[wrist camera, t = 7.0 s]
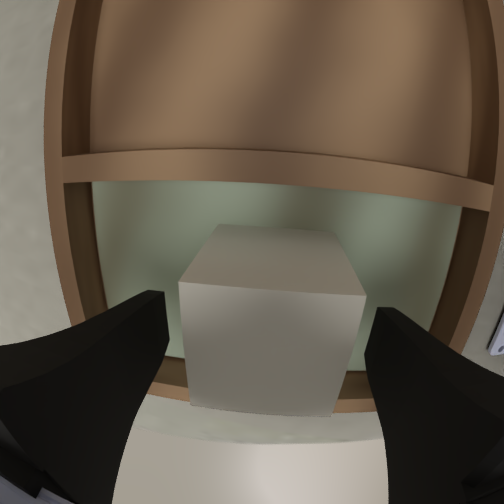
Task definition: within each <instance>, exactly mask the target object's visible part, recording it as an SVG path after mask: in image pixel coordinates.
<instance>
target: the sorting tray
mask: <svg viewBox="0 0 504 504" xmlns="http://www.w3.org/2000/svg"><path fill="white" fill-rule="evenodd" d="M44 163H45V180H46V193H47V203H48V212H49V220H50V228H51V235H52V241H53V247H54V253H55V258H56V264H57V269H58V273H59V278H60V283H61V287H62V291H63V295H64V300H65V303H66V307H67V311H68V315H69V318H70V322H71V325H72V326H75V325H77V324H79V323H82V322H84V321H86V320H88V319H90V318H92V317H94V316H96V315H98V314H100V313H103V312H105V311H106V310H108V309H110V308H112V307H114V306H116V305H118V304H120V303H122V302H124V301H125V300H127V299H129V298H131V297H133V296H135V295H137V294H139V293H141V292H144V291H146V290H156V291H165V301H166V311H167V320H168V328H169V336H170V341H169V344H168V347H167V350H166V353H165V356H164V359H163V362H162V364H161V366H160V368H159V370H158V372H157V374H156V376H155V378H154V380H153V382H152V384H151V386H150V388H149V390H148V392H147V394H151V395H156V396H161V397H166V398H171V399H176V400H182V401H188V402H190V397H189V389H188V381H187V373H186V364H185V355H184V346H183V335H182V324H181V312H180V299H179V285H178V281H179V280H180V278H181V277H182V275H183V274H184V273H185V271H186V270H187V268H188V267H189V265H190V264H191V262H192V261H193V259H194V258H195V257H196V255H197V254H198V252H199V251H200V249H201V248H202V247H203V245H204V244H205V242H206V241H207V239H208V238H209V237H210V235H211V234H212V232H213V231H214V230H215V228H216V227H217V225H218V224H229V225H244V226H259V227H273V228H286V229H299V230H312V231H324V232H334V233H335V235H336V237H337V239H338V241H339V243H340V245H341V246H342V248H343V250H344V252H345V254H346V256H347V258H348V260H349V262H350V264H351V265H352V267H353V269H354V271H355V273H356V275H357V277H358V279H359V281H360V283H361V285H362V287H363V289H364V291H365V293H366V295H367V297H366V302H365V306H364V310H363V314H362V318H361V322H360V326H359V329H358V333H357V337H356V340H355V344H354V347H353V351H352V354H351V358H350V361H349V364H348V368H347V371H346V374H345V377H344V380H343V384H342V387H341V390H340V393H339V396H338V398H337V401H336V404H335V407H334V410H333V413H352V412H374V411H377V409H376V406H375V402H374V399H373V395H372V392H371V389H370V385H369V382H368V378H367V372H366V366H365V359H364V352H365V349H366V345H367V342H368V339H369V335H370V332H371V328H372V324H373V321H374V317H375V313H376V310H377V307H394V308H396V309H397V310H399V311H400V312H402V313H403V314H405V315H406V316H408V317H409V318H410V319H412V320H413V321H414V322H416V323H417V324H418V325H420V326H421V327H422V328H423V329H425V330H426V331H427V332H429V333H430V334H431V335H433V336H434V337H436V338H437V339H438V340H440V341H441V342H442V343H444V344H445V345H447V346H448V347H450V348H451V349H453V350H454V351H456V352H457V353H459V354H460V355H461V353H462V351H463V348H464V346H465V344H466V342H467V339H468V337H469V335H470V332H471V330H472V328H473V325H474V323H475V320H476V318H477V315H478V312H479V310H480V307H481V304H482V301H483V299H484V296H485V293H486V290H487V287H488V284H489V281H490V277H491V274H492V271H493V267H494V264H495V260H496V257H497V253H498V249H499V245H500V241H501V237H502V232H503V228H504V5H503V0H59V5H58V9H57V13H56V18H55V23H54V28H53V34H52V40H51V46H50V53H49V60H48V69H47V79H46V91H45V108H44Z"/></svg>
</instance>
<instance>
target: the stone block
mask: <svg viewBox="0 0 504 504" xmlns="http://www.w3.org/2000/svg"><path fill="white" fill-rule="evenodd" d="M178 285H179V299H180V312H181V324H182V335H183V346H184V355H185V364H186V373H187V381H188V389H189V397H190V404H191V405H192V406H198V407H205V408H211V409H219V410H227V411H235V412H244V413H255V414H267V415H283V416H310V417H331V415H332V413H333V410H334V407H335V404H336V401H337V398H338V396H339V393H340V390H341V387H342V384H343V380H344V377H345V374H346V371H347V368H348V364H349V361H350V358H351V354H352V351H353V347H354V344H355V340H356V337H357V333H358V329H359V326H360V322H361V318H362V314H363V310H364V306H365V302H366V297H367V295H366V293H365V291H364V289H363V287H362V285H361V283H360V281H359V279H358V277H357V275H356V273H355V271H354V269H353V267H352V265H351V264H350V262H349V260H348V258H347V256H346V254H345V252H344V250H343V248H342V246H341V245H340V243H339V241H338V239H337V237H336V235H335V233H334V232H324V231H312V230H299V229H286V228H273V227H259V226H244V225H229V224H218V225H217V227H216V228H215V230H214V231H213V232H212V234H211V235H210V237H209V238H208V239H207V241H206V242H205V244H204V245H203V247H202V248H201V249H200V251H199V252H198V254H197V255H196V257H195V258H194V259H193V261H192V262H191V264H190V265H189V267H188V268H187V270H186V271H185V273H184V274H183V275H182V277H181V278H180V280H179V281H178Z"/></svg>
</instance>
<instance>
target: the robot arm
mask: <svg viewBox="0 0 504 504" xmlns="http://www.w3.org/2000/svg"><path fill="white" fill-rule="evenodd" d="M169 341H170V336H169V328H168V320H167V311H166V301H165V291H156V290H146V291H144V292H141V293H139V294H137V295H135V296H133V297H131V298H129V299H127V300H125V301H124V302H122V303H120V304H118V305H116V306H114V307H112V308H110V309H108V310H106V311H105V312H103V313H100V314H98V315H96V316H94V317H92V318H90V319H88V320H86V321H84V322H82V323H79V324H77V325H75V326H72V327H70V328H67V329H64V330H62V331H59V332H56V333H53V334H50V335H47V336H43V337H39V338H36V339H32V340H28V341H24V342H20V343H14V344H9V345H2V346H0V504H112V499H113V493H114V488H115V483H116V479H117V475H118V471H119V467H120V462H121V459H122V455H123V452H124V449H125V445H126V442H127V439H128V436H129V433H130V430H131V427H132V424H133V421H134V419H135V416H136V414H137V412H138V410H139V408H140V406H141V404H142V402H143V400H144V398H145V396H146V394H147V392H148V390H149V388H150V386H151V384H152V382H153V380H154V378H155V376H156V374H157V372H158V370H159V368H160V366H161V364H162V362H163V359H164V356H165V353H166V350H167V347H168V344H169ZM488 352H489V353H490V354H491V355H500V354H504V313H503V316H502V318H501V321H500V323H499V326H498V328H497V330H496V332H495V335H494V337H493V339H492V341H491V344H490V346H489V348H488ZM364 359H365V366H366V372H367V378H368V382H369V385H370V389H371V392H372V395H373V399H374V402H375V406H376V409H377V413H378V416H379V420H380V423H381V427H382V431H383V436H384V440H385V449H386V458H387V468H388V490H389V491H388V492H389V504H504V377H503V376H500V375H498V374H496V373H494V372H491V371H489V370H487V369H485V368H483V367H481V366H479V365H478V364H476V363H474V362H472V361H471V360H469V359H467V358H465V357H464V356H462V355H460V354H459V353H457V352H456V351H454V350H453V349H451V348H450V347H448V346H447V345H445V344H444V343H442V342H441V341H440V340H438V339H437V338H436V337H434V336H433V335H431V334H430V333H429V332H427V331H426V330H425V329H423V328H422V327H421V326H420V325H418V324H417V323H416V322H414V321H413V320H412V319H410V318H409V317H408V316H406V315H405V314H403V313H402V312H400V311H399V310H397V309H396V308H394V307H377V310H376V313H375V317H374V321H373V324H372V328H371V332H370V335H369V339H368V342H367V345H366V349H365V352H364Z"/></svg>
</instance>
